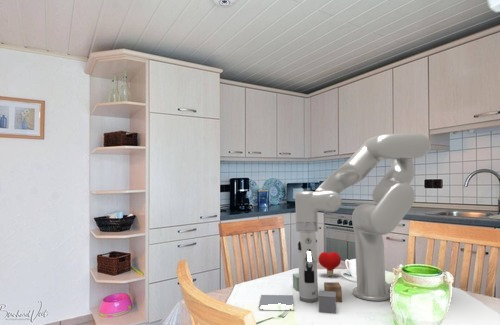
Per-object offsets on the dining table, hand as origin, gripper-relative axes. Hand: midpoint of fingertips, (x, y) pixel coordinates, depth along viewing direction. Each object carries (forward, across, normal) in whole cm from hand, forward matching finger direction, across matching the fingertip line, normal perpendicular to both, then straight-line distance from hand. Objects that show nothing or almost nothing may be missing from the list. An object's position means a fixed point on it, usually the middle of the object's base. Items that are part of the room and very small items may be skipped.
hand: (308, 279), depth 110 cm
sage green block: (+7, +11, +2) cm, 13 cm away
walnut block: (+7, 0, -8) cm, 11 cm away
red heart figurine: (+7, +27, -11) cm, 30 cm away
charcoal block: (+7, -9, -5) cm, 12 cm away
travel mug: (+7, 0, 0) cm, 7 cm away
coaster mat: (+7, -5, +11) cm, 14 cm away
